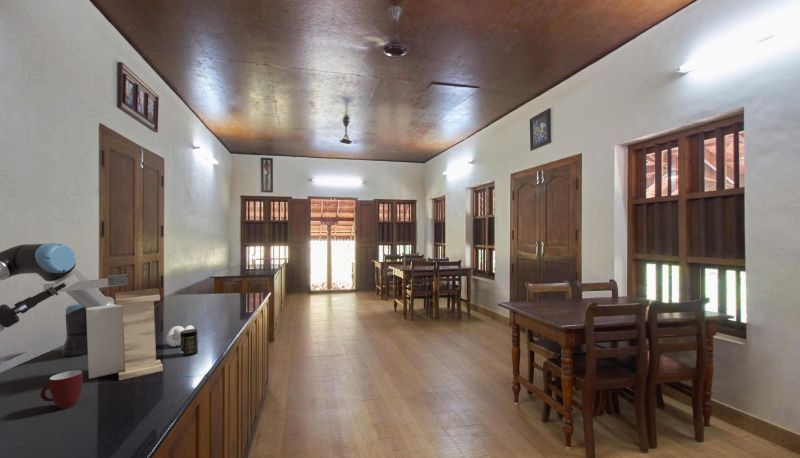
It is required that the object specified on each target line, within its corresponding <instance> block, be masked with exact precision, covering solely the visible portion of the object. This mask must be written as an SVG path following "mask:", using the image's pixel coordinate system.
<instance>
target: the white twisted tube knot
mask: <svg viewBox="0 0 800 458" xmlns="http://www.w3.org/2000/svg"><path fill="white" fill-rule="evenodd" d="M189 329H195V327H194V325H191V324H190V325H187V326H185V328H184V327H183V326H181V325H176V326H173V327H171V328H170V330H168V332H167V334H166V342H167V345H168V346H170V347H172V348H177V347H179V346H181V336H180V332H181V331H184V330H189ZM176 346H177V347H176Z"/></svg>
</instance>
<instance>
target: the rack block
mask: <svg viewBox="0 0 800 458" xmlns="http://www.w3.org/2000/svg"><path fill="white" fill-rule="evenodd" d="M86 318H87V343H88V353H87V365H88V366H87V367H88V368H87V369H88V379H93V378H94V379H95V378H98V377H103V376H108V375H112V374H118V368H121V367H124V341H123V323H122V305H118V306H116V304H113V305H105V306H97V307H89V308H87V309H86Z"/></svg>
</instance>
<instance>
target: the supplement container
mask: <svg viewBox="0 0 800 458" xmlns="http://www.w3.org/2000/svg"><path fill="white" fill-rule="evenodd" d="M180 336H181V345H180V354H181V356H182V357H191V356H196V355H197V354H198V352H199V346H198V343H199V342H198V341H199V340H198V329H197V328H194V329H189V330H184V331H181V332H180Z"/></svg>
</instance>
